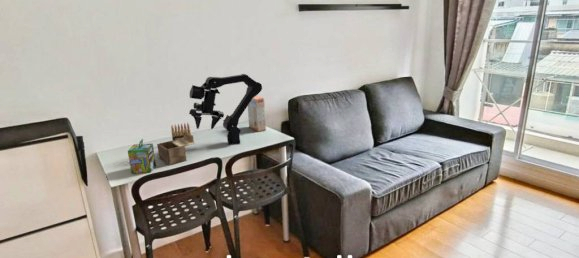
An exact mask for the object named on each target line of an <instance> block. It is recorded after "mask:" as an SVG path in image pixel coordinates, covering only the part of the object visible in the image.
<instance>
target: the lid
mask: <svg viewBox="0 0 579 258" xmlns="http://www.w3.org/2000/svg"><path fill="white" fill-rule="evenodd" d="M183 134H184V139H180V140H176V141H172V140H171V141H172V143H173V144H175V145H176V146H178V147H179V146H183V145H184V146H185V147H188V146H192V145H195V144H196V143H195V142H194V141H195V140H194V135H192V134H191V135H190V134H188V132H187V133H186V132H185V133H183Z"/></svg>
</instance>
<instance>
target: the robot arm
mask: <svg viewBox="0 0 579 258" xmlns="http://www.w3.org/2000/svg"><path fill="white" fill-rule="evenodd" d="M236 83H244V84H245V85H246V86H247V87H246V91H245V94H244V96H243V97H242V99H241V101H240V102H239V103H238V105H237V106H236V107H235V109H234V111H233V112H232V114H230V115H228V114H226V116H225V114H224V112H223V111H220V110H215V109H214V108H215V106H216V105H217V104H216V103H215V101H216V96H217V95H216V94H218V95H219V94H221V92H220V91H219V89H218V88H221V87H223V86H225V85H231V84H236ZM262 90H263V86H262V84H261V83H260V82H258V81H256V80H255V79H253V78H251V77H250V76H249V74H246V73H240V74H238V75H237V74H236V75H230V76H223V77H220V76H208V77H207V78H206V79H205V82H204V83H202V85H200V86H198V85H197V86H196V85H193V84H192V86H191V88H190V90H189V99H196V100H202V99H203V100H202V101H201V103H199V102H194V103H193V108H191V109H190V110H189V113H188V114H189V115H191V117H193V118H194V121H195V125H196V129H197V130H199V129H200V125H201V122H202V119H203V117H202V116H211V124H210V129H211V130H213V129H214V127H216V125H217V123H218V122H219V121H220V120H222V118H224V116H225V118H224V119H223V121H222V122H223V123H222V127H223V129H225V130H226V131H227V134H226V138H227V139H226V140H227V143H228V145H238V144H239V145H240V144H241V137H240V133H241V131H242V129H240V128H239V127H238V125H239V121H240V118H241V117H242V116H243V115H242V114H244V112H245V110H247V109H248V105H249V103H250V102H251V100H252V99H253V97H255V96H258V95H259V94H260V92H262Z"/></svg>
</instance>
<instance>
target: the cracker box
mask: <svg viewBox="0 0 579 258" xmlns="http://www.w3.org/2000/svg"><path fill="white" fill-rule="evenodd" d="M247 115H248V127H249V128H250V129H253V130H254V131H256V132H258V133H259V132H265V131H266V129H267V127H266V109H265V98H264V97H261V96H258V95H256V96H255V97H253V99H252V100H251V102H250V103H249V105H248V106H247Z"/></svg>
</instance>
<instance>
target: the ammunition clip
mask: <svg viewBox="0 0 579 258" xmlns="http://www.w3.org/2000/svg"><path fill="white" fill-rule="evenodd" d="M170 127H171V141H172V140H175V141H176V140H180V139H184V134H183V133H185V132H186V133H188V134H190V135H192V132H191V127H190V124H189V122H187V123H186V122H184V123H181V124H179V123H178V124H177V125H176V124H174V125H173V124H172V125H171V126H170Z"/></svg>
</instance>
